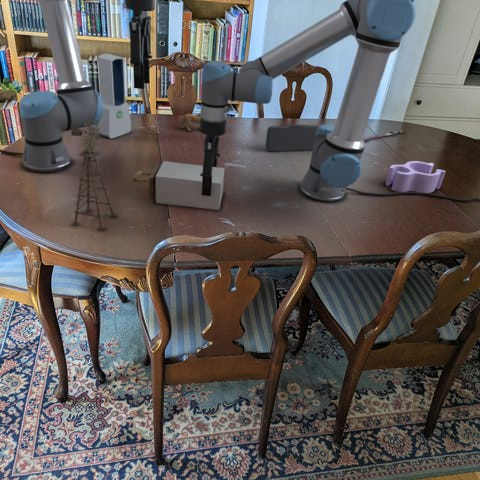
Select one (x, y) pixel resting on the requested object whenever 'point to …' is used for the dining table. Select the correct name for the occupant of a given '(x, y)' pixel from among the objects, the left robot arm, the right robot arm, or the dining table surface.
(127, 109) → the electronic device
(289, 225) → the dining table surface
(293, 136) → the handheld gaming console
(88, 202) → the miniature windmill
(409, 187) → the clip
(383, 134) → the sword
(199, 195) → the cabinet
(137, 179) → the drawer
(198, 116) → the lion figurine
